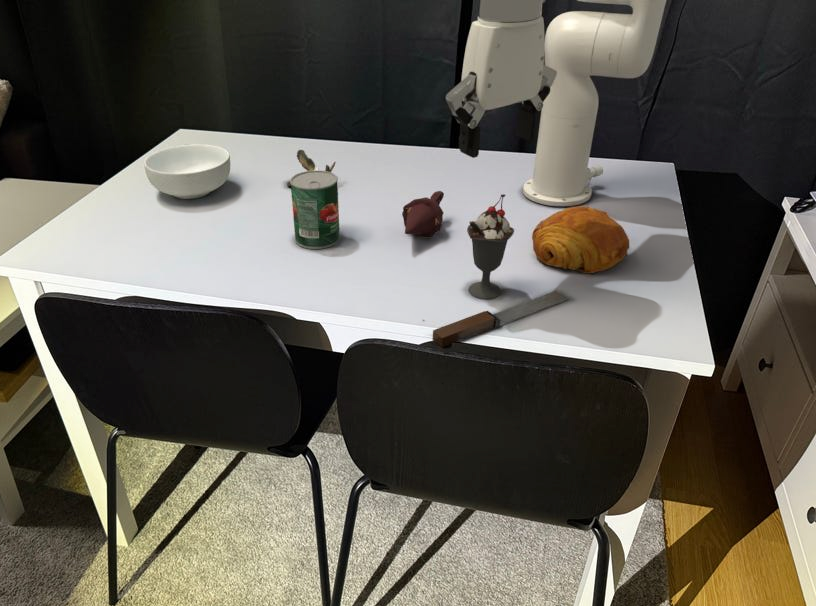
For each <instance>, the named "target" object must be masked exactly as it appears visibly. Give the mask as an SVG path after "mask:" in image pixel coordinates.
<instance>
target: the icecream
mask: <svg viewBox="0 0 816 606" xmlns="http://www.w3.org/2000/svg"><path fill="white" fill-rule="evenodd" d="M444 197H445V194H444V191H442V190H438V191H435V192H433V193H432V194H431V196H430V197H421V198H415V199H413V200H411V201H410V202H409V203H407V204H405V205H404V206H403V207H402V210H403V211H402V212H401V215H402V218H403V226H404V227H405V228H404V234H405V235H413V236H414V237H416V238H425V239H430V238H433V237H434V236H435V235H436V234H437V233H438V232H441V229H442V226H443V221H444V219H443V216H444V210H443V209H442V207H441V206H440V204H441V202H442V201H443V199H444Z"/></svg>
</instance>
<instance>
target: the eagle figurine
mask: <svg viewBox="0 0 816 606" xmlns="http://www.w3.org/2000/svg"><path fill="white" fill-rule="evenodd" d="M296 158H297V160H298V163H299V164H300V165H301V167H302V168H303V169H305V170H306V171H314V170H320V167H319V166H317V167H316V164H315V162H314V160H313V159H312V158H310V157H308V155H307V154H306V152H305V150H303V149H298V150H297V152H296ZM335 166H336V161H334V162H333V163H332V164H331V166H330V165H329V164H326V165H325V169H324V171H327V172H331V173H332V171H333V169H334V167H335ZM286 187H291V183H290V180H288V182H287V183H286Z"/></svg>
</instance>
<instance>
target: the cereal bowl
mask: <svg viewBox="0 0 816 606" xmlns="http://www.w3.org/2000/svg"><path fill="white" fill-rule="evenodd" d="M143 161H144V162H143V166H144V170H145V174H146V178H147V180H148V181H149V183H150V184H151V185H152V187H153V188H154V189H156V190H157V191H159V192H161V193H164V195H165V194H167V195H169V196H173V197H175V198H177V199H182V200H193V199H194V200H195V199H199V198H202V197H205V196H207V195H209V194H210V193H211V192H213V191H215V190H217V189H219V188H220V187H221V186H222V185H224V183H225V182H226V181H227V180H228V178H229V175H230V173H231V155H230V153H229V152H228V150H227V149H225V148H223V147H220V146H218V145H213V144H203V143H192V144H191V143H190V144H183V145H182V144H180V145H175V146H171V147H166V148H162V149H160V150H157V151H155V152H152V153H151V154H149V155H148V156H147V157H146V158H145V159H144V160H143Z"/></svg>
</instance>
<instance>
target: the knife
mask: <svg viewBox="0 0 816 606" xmlns="http://www.w3.org/2000/svg"><path fill="white" fill-rule="evenodd" d="M568 300H569V297H568V296H565V295H564V294H563V293H561V292H559V291H557V290H554V291H551V292H549V293H546V294H542V295H541V296H538V297H534V298H532V299H530V300H528V301H524V302H521V303H519V304H517V305H514V306H511V307H509V308H506V309H504V310H501V311H498V312H495V313H491V312H490V311H489V310H484V311H481V312H479V313H476V314H473V315H470V316H468V317H464V318H463V319H460V320H457V321H454V322H451V323H449V324H446V325H444V326H441V327H438V328H435V329H433V330H432V341H433V342H435V343H436V344H437V345H438V346H440V347H441V348H444V347H447V346H450V345H452V344H454V343H457V342H460V341H463V340H466V339H467V338H470V337H473V336H475V335H478V334H481V333H483V332H486V331H488V330H491V329H498V328H500V327H501V326H504V325H506V324H507V325H508V324H509V323H512V322H515V321H517V320H519V319H522V318H525V317H528V316H530V315H532V314H536V313H538V312H540V311H542V310H546V309H548V308H551V307H554V306H556V305H558V304H561V303H563V302H564V303H565V302H566V301H568Z"/></svg>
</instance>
